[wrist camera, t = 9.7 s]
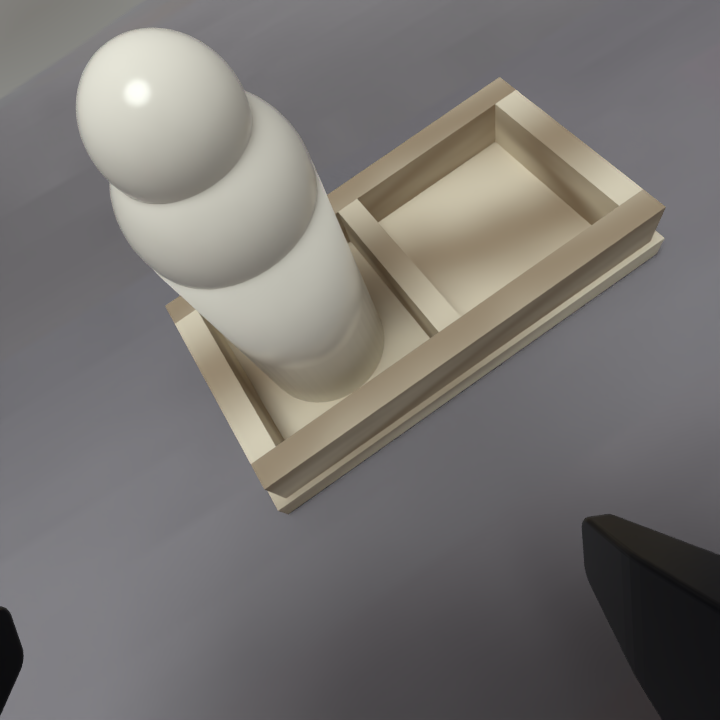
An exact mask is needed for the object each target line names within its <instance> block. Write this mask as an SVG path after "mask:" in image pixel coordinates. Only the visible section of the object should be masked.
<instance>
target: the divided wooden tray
mask: <svg viewBox="0 0 720 720" xmlns="http://www.w3.org/2000/svg"><path fill="white" fill-rule="evenodd" d="M327 197H328V199H329V201H330V204H331V206H332V208H333V211H334V213H335V215H336V218H337V220H338V222H339V225H340V227H341V229H342V232H343V234H344V236H345V239H346V241H347V243H348V245H349V248H350V250H351V252H352V255H353V257H354V259H355V262H356V264H357V266H358V269H359V271H360V273H361V276H362V278H363V280H364V283H365V285H366V287H367V289H368V292H369V294H370V296H371V299H372V301H373V303H374V306H375V308H376V310H377V313H378V315H379V317H380V320H381V322H382V325H383V329H384V349H383V354H382V357H381V360H380V362H379V364H378V366H377V368H376V370H375V371H374V373H373V374H372V376H371V377H370V378H369V379H368V380H367V381H366V382H365V383H364V384H363V385H362V386H361V387H360V388H358V389H357V390H356V391H354V392H353V393H351V394H349V395H347V396H345V397H343V398H340V399H337V400H334V401H329V402H319V403H315V402H307V401H303V400H299V399H297V398H294V397H292V396H291V395H289V394H287V393H286V392H285V391H283V390H282V389H281V388H280V387H279V386H278V385H277V384H276V383H275V382H274V381H272V380H271V379H270V378H269V377H268V376H267V375H266V374H265V373H264V372H263V371H262V370H261V369H259V368H258V367H257V366H256V365H255V364H254V363H253V362H252V361H251V360H250V359H249V358H248V357H246V356H245V355H244V354H243V353H242V352H241V351H240V350H239V349H238V348H237V347H236V346H235V345H234V344H232V343H231V342H230V341H229V340H228V339H227V338H226V337H225V336H224V335H223V334H222V333H221V332H219V331H218V330H217V329H216V328H215V327H214V326H213V325H212V324H211V323H210V322H209V321H208V320H206V319H205V318H204V317H203V316H202V315H201V314H200V313H199V312H198V311H197V310H196V309H195V308H194V307H192V306H191V305H190V304H189V303H188V302H187V301H186V300H185V299H184V298H183V297H182V296H181V295H180V296H179V297H178V298H176V299H175V300H173V301H172V302H170V303H169V304H167V305H166V308H167V310H168V312H169V314H170V316H171V317H172V319H173V321H174V323H175V325H176V327H177V329H178V330H179V332H180V334H181V336H182V338H183V340H184V341H185V343H186V345H187V347H188V349H189V351H190V353H191V354H192V356H193V358H194V360H195V362H196V364H197V366H198V367H199V369H200V371H201V373H202V375H203V377H204V378H205V380H206V382H207V384H208V386H209V388H210V390H211V391H212V393H213V395H214V397H215V399H216V401H217V403H218V404H219V406H220V408H221V410H222V412H223V414H224V415H225V417H226V419H227V421H228V423H229V425H230V427H231V428H232V430H233V432H234V434H235V436H236V438H237V439H238V441H239V443H240V445H241V447H242V449H243V451H244V452H245V454H246V456H247V458H248V460H249V462H250V464H251V465H252V467H253V469H254V471H255V473H256V475H257V476H258V478H259V480H260V482H261V484H262V486H263V488H264V489H265V490H267V491H268V493H269V495H270V496H271V498H272V500H273V502H274V504H275V506H276V507H277V509H278V511H280V512H283V513H286V514H289V513H291V512H292V511H293V510H295V509H296V508H298V507H299V506H300V505H302V504H303V503H305V502H306V501H307V500H309V499H310V498H312V497H313V496H315V495H316V494H317V493H319V492H320V491H322V490H323V489H324V488H326V487H327V486H329V485H330V484H332V483H333V482H334V481H336V480H337V479H339V478H340V477H341V476H343V475H344V474H346V473H347V472H349V471H350V470H351V469H353V468H354V467H356V466H357V465H358V464H360V463H361V462H363V461H364V460H366V459H367V458H368V457H370V456H371V455H373V454H374V453H375V452H377V451H378V450H380V449H381V448H382V447H384V446H385V445H387V444H388V443H390V442H391V441H392V440H394V439H395V438H397V437H398V436H399V435H401V434H402V433H404V432H405V431H407V430H408V429H409V428H411V427H412V426H414V425H415V424H416V423H418V422H419V421H421V420H422V419H424V418H425V417H426V416H428V415H429V414H431V413H432V412H433V411H435V410H436V409H438V408H439V407H440V406H442V405H443V404H445V403H446V402H448V401H449V400H450V399H452V398H453V397H455V396H456V395H457V394H459V393H460V392H462V391H463V390H465V389H466V388H467V387H469V386H470V385H472V384H473V383H474V382H476V381H477V380H479V379H480V378H482V377H483V376H484V375H486V374H487V373H489V372H490V371H491V370H493V369H494V368H496V367H497V366H498V365H500V364H501V363H503V362H504V361H506V360H507V359H508V358H510V357H511V356H513V355H514V354H515V353H517V352H518V351H520V350H521V349H523V348H524V347H525V346H527V345H528V344H530V343H531V342H532V341H534V340H535V339H537V338H538V337H540V336H541V335H542V334H544V333H545V332H547V331H548V330H549V329H551V328H552V327H554V326H555V325H556V324H558V323H559V322H561V321H562V320H564V319H565V318H566V317H568V316H569V315H571V314H572V313H573V312H575V311H576V310H578V309H579V308H581V307H582V306H583V305H585V304H586V303H588V302H589V301H590V300H592V299H593V298H595V297H596V296H598V295H599V294H600V293H602V292H603V291H605V290H606V289H607V288H609V287H610V286H612V285H613V284H614V283H616V282H617V281H619V280H620V279H622V278H623V277H624V276H626V275H627V274H629V273H630V272H631V271H633V270H634V269H636V268H637V267H639V266H640V265H641V264H643V263H644V262H646V261H647V260H648V259H650V258H651V257H653V256H654V255H656V254H657V253H658V251H659V248H660V246H661V244H662V242H663V240H664V237H662V236H661V235H660V234H659V233H658V232H656V231H655V230H656V228H657V226H658V223H659V221H660V219H661V217H662V214H663V212H664V210H665V208H666V207H665V206H664V205H662V204H661V203H660V202H659V201H657V200H656V199H655V198H654V197H652V196H651V195H650V194H648V193H647V192H646V191H645V190H643V189H642V188H641V187H639V186H638V185H637V184H636V183H634V182H633V181H632V180H631V179H629V178H628V177H627V176H625V175H624V174H623V173H622V172H620V171H619V170H618V169H616V168H615V167H614V166H613V165H611V164H610V163H609V162H608V161H606V160H605V159H604V158H602V157H601V156H600V155H599V154H597V153H596V152H595V151H593V150H592V149H591V148H590V147H588V146H587V145H586V144H584V143H583V142H582V141H581V140H579V139H578V138H577V137H576V136H574V135H573V134H572V133H570V132H569V131H568V130H567V129H565V128H564V127H563V126H561V125H560V124H559V123H558V122H556V121H555V120H554V119H553V118H551V117H550V116H549V115H547V114H546V113H545V112H544V111H542V110H541V109H540V108H538V107H537V106H536V105H535V104H533V103H532V102H531V101H530V100H528V99H527V98H526V97H524V96H523V95H522V94H521V93H519V92H518V91H517V90H515V89H514V88H513V87H512V86H510V85H509V84H508V83H506V82H505V81H504V80H503V79H501V78H500V77H499V78H498V79H496V80H495V81H493V82H492V83H490V84H489V85H487V86H486V87H484V88H483V89H481V90H480V91H479V92H477V93H476V94H474V95H473V96H471V97H470V98H468V99H467V100H465V101H464V102H462V103H461V104H460V105H458V106H457V107H455V108H454V109H452V110H451V111H449V112H448V113H446V114H445V115H443V116H442V117H441V118H439V119H438V120H436V121H435V122H433V123H432V124H430V125H429V126H427V127H426V128H424V129H423V130H422V131H420V132H419V133H417V134H416V135H414V136H413V137H411V138H410V139H408V140H407V141H405V142H404V143H403V144H401V145H400V146H398V147H397V148H395V149H394V150H392V151H391V152H389V153H388V154H386V155H385V156H384V157H382V158H381V159H379V160H378V161H376V162H375V163H373V164H372V165H370V166H369V167H367V168H366V169H365V170H363V171H362V172H360V173H359V174H357V175H356V176H354V177H353V178H351V179H350V180H348V181H347V182H346V183H344V184H343V185H341V186H340V187H338V188H337V189H335V190H334V191H332V192H331V193H330V194H328V195H327Z"/></svg>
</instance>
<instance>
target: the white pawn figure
mask: <svg viewBox="0 0 720 720" xmlns="http://www.w3.org/2000/svg"><path fill="white" fill-rule="evenodd" d="M76 115H77V123H78V128H79V132H80V136H81V139H82V141H83V144H84V146H85V148H86V151H87V153H88V155H89V156H90V158H91V160H92V161H93V163H94V164H95V166H96V167H97V169H98V170H99V171H100V172H101V174H102V175H103V176H104V177H105V178H106V179H107V180H108V181H109V182H110V196H111V201H112V206H113V210H114V214H115V216H116V219H117V221H118V224H119V226H120V228H121V231H122V233H123V234H124V236H125V238H126V239H127V241H128V242H129V244H130V245H131V247H132V248H133V250H134V251H135V252H136V253H137V254H138V255H139V256H140V257H141V259H142V260H143V261H144V262H145V263H146V264H147V265H148V266H150V267H151V268H152V269H153V270H154V271H155V272H156V273H157V274H158V275H159V276H160V277H161V278H162V279H163V280H164V281H165V282H166V283H168V284H169V285H170V286H171V287H172V288H173V289H174V290H175V291H176V292H177V293H178V294H179V295H181V296H182V297H183V298H184V299H185V300H186V301H187V302H188V303H189V304H190V305H191V306H192V307H194V308H195V309H196V310H197V311H198V312H199V313H200V314H201V315H202V316H203V317H204V318H205V319H206V320H208V321H209V322H210V323H211V324H212V325H213V326H214V327H215V328H216V329H217V330H218V331H219V332H221V333H222V334H223V335H224V336H225V337H226V338H227V339H228V340H229V341H230V342H231V343H232V344H234V345H235V346H236V347H237V348H238V349H239V350H240V351H241V352H242V353H243V354H244V355H245V356H246V357H248V358H249V359H250V360H251V361H252V362H253V363H254V364H255V365H256V366H257V367H258V368H259V369H261V370H262V371H263V372H264V373H265V374H266V375H267V376H268V377H269V378H270V379H271V380H272V381H274V382H275V383H276V384H277V385H278V386H279V387H280V388H281V389H282V390H283V391H285V392H286V393H287V394H289V395H291V396H292V397H294V398H297V399H299V400H303V401H307V402H315V403H319V402H329V401H334V400H337V399H340V398H343V397H345V396H347V395H349V394H351V393H353V392H354V391H356V390H357V389H358V388H360V387H361V386H362V385H363V384H364V383H365V382H366V381H367V380H368V379H369V378H370V377H371V376H372V374H373V373H374V371H375V370H376V368H377V366H378V364H379V362H380V360H381V357H382V354H383V349H384V329H383V325H382V322H381V320H380V317H379V315H378V313H377V310H376V308H375V306H374V303H373V301H372V299H371V296H370V294H369V292H368V289H367V287H366V285H365V283H364V280H363V278H362V276H361V273H360V271H359V269H358V266H357V264H356V262H355V259H354V257H353V255H352V252H351V250H350V248H349V245H348V243H347V241H346V239H345V236H344V234H343V232H342V229H341V227H340V225H339V222H338V220H337V218H336V215H335V213H334V211H333V208H332V206H331V204H330V201H329V199H328V197H327V194H326V192H325V190H324V188H323V185H322V183H321V181H320V178H319V176H318V174H317V171H316V169H315V167H314V165H313V162H312V161H311V158H310V155H309V153H308V151H307V148H306V146H305V145H304V143H303V141H302V139H301V137H300V136H299V134H298V133H297V132H296V130H295V129H294V128H293V126H292V125H291V124H290V122H289V121H288V120H287V119H286V118H285V117H284V116H283V115H282V114H281V113H280V112H278V111H277V110H276V109H275V108H274V107H273V106H271V105H270V104H268V103H267V102H265V101H264V100H262V99H261V98H259V97H257V96H255V95H253V94H251V93H249V92H247V91H244V89H243V86H242V85H241V83H240V81H239V80H238V78H237V76H236V75H235V73H234V72H233V70H232V69H231V68H230V66H229V65H228V64H227V63H226V62H225V61H224V60H223V59H222V58H221V57H220V56H219V55H218V54H217V53H216V52H215V51H214V50H212V49H211V48H210V47H208V46H207V45H205V44H204V43H202V42H201V41H199V40H197V39H195V38H193V37H191V36H189V35H187V34H184V33H181V32H177V31H174V30H170V29H162V28H143V29H136V30H132V31H128V32H125V33H123V34H120V35H118V36H116V37H115V38H113V39H111V40H110V41H108V42H107V43H106V44H104V45H103V46H102V47H101V48H100V49H99V50H98V51H97V52H96V53H95V54H94V55H93V56H92V58H91V59H90V61H89V62H88V64H87V66H86V68H85V69H84V71H83V74H82V76H81V79H80V83H79V86H78V90H77V99H76Z"/></svg>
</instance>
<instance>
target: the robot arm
mask: <svg viewBox="0 0 720 720" xmlns="http://www.w3.org/2000/svg"><path fill="white" fill-rule="evenodd" d="M582 538H583V553H584V566H585V571H586V575H587V578H588V581H589V583H590V585H591V587H592V589H593V591H594V593H595V595H596V598H597V600H598V602H599V604H600V606H601V608H602V610H603V612H604V614H605V616H606V618H607V620H608V622H609V624H610V626H611V628H612V630H613V632H614V634H615V636H616V639H617V641H618V643H619V645H620V647H621V649H622V651H623V653H624V655H625V657H626V659H627V661H628V663H629V665H630V667H631V669H632V671H633V673H634V675H635V676H636V678H637V680H638V681H639V683H640V685H641V687H642V688H643V690H644V692H645V693H646V695H647V696H648V698H649V700H650V701H651V703H652V705H653V706H654V708H655V709H656V711H657V713H658V714H659V716H660V717H661V719H662V720H720V555H718V554H715V553H713V552H710V551H707V550H705V549H702V548H699V547H697V546H694V545H691V544H689V543H686V542H684V541H681V540H678V539H676V538H673V537H670V536H668V535H665V534H662V533H660V532H657V531H654V530H652V529H649V528H646V527H644V526H641V525H638V524H636V523H633V522H631V521H628V520H625V519H623V518H620V517H617V516H615V515H612V514H604V515H597V516H591V517H587V518H585V519H584V520H583V523H582ZM23 656H24V655H23V648H22V645H21V642H20V639H19V636H18V633H17V631H16V628H15V625H14V622H13V619H12V616H11V614H10V612H9V611H8V610H7V609H6V608H4V607H2V606H0V715H1V713H2V711H3V708H4V706H5V704H6V702H7V699H8V697H9V695H10V693H11V690H12V688H13V686H14V684H15V681H16V679H17V677H18V675H19V672H20V670H21V668H22V664H23Z"/></svg>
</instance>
